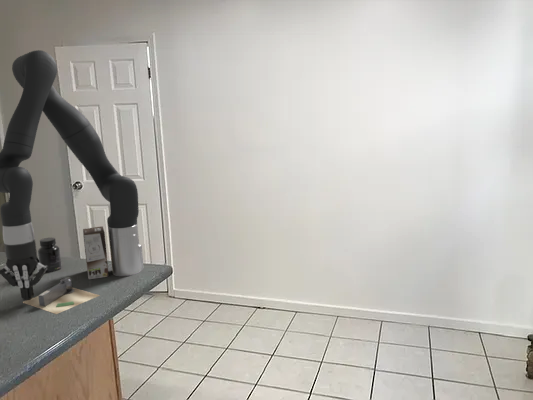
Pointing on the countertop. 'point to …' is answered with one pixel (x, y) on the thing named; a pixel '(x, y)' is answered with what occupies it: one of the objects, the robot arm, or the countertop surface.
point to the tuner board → (63, 301)
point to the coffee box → (95, 252)
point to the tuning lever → (55, 291)
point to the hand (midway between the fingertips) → (28, 299)
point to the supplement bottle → (49, 254)
